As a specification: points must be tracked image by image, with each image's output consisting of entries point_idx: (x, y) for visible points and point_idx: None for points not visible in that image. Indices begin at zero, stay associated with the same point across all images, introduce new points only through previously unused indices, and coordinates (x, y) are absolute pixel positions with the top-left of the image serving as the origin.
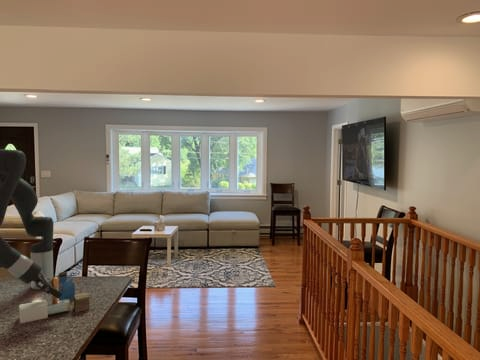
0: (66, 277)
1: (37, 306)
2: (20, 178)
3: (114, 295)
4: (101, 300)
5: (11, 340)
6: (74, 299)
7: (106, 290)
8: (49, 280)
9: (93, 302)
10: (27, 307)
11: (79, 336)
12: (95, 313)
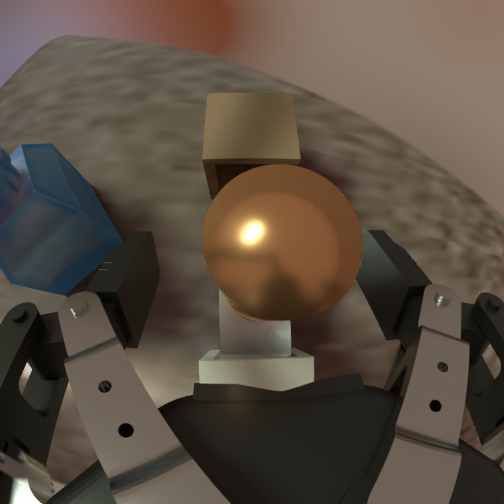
0: (6, 154)
1: None
2: None
3: (173, 52)
4: (195, 87)
5: None
6: (215, 171)
7: (98, 73)
8: (115, 337)
9: (198, 114)
10: None
11: (500, 234)
12: (345, 132)
